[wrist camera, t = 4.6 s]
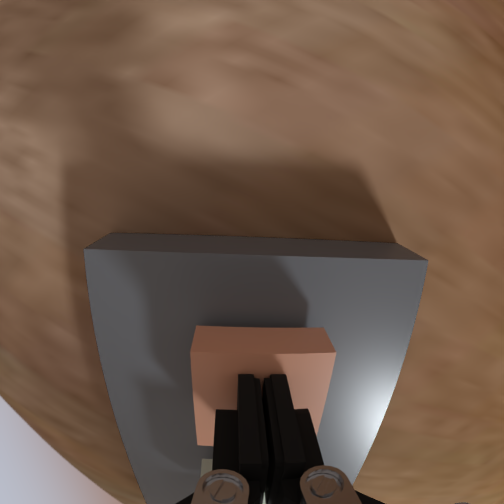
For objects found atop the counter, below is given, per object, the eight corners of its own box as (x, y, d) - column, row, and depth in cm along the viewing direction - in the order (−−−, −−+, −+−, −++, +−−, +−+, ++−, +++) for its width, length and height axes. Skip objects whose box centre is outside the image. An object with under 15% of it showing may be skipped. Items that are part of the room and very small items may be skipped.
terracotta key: (306, 416, 13) (314, 444, 11) (200, 416, 13) (197, 445, 11) (323, 327, 12) (336, 352, 10) (196, 325, 11) (190, 351, 10)
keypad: (320, 505, 21) (326, 530, 18) (163, 504, 20) (159, 530, 17) (397, 243, 15) (428, 260, 12) (110, 232, 14) (83, 249, 11)
